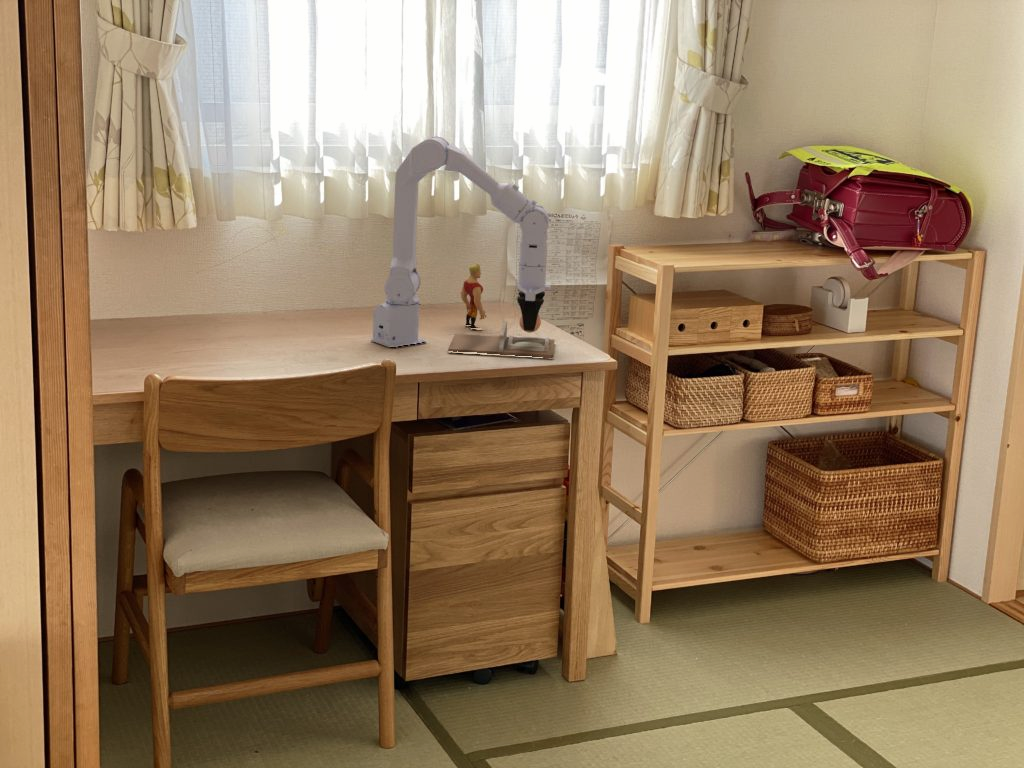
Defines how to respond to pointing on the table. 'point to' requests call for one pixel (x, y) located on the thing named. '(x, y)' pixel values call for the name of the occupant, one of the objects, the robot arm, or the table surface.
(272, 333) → the table surface
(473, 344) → the board
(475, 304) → the action figure
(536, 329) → the ball
